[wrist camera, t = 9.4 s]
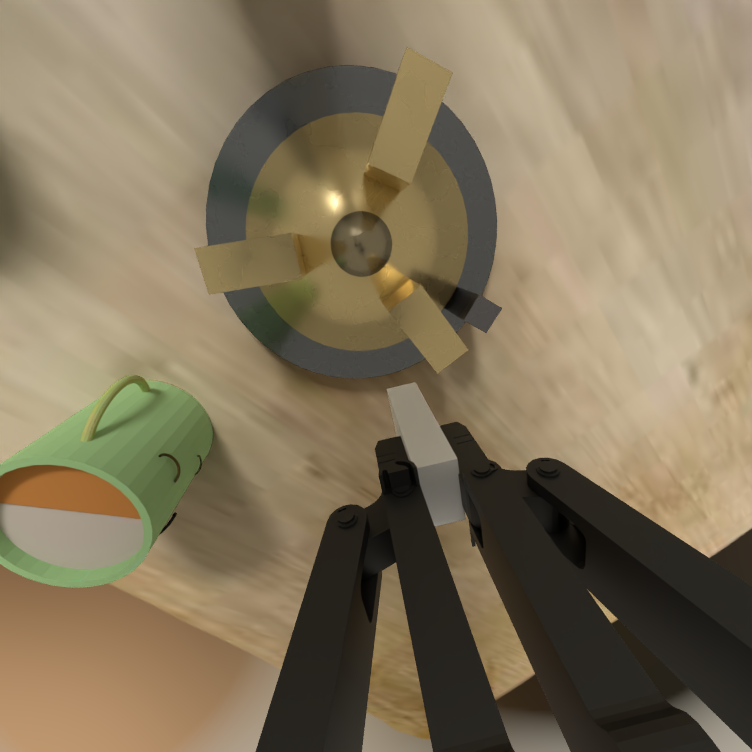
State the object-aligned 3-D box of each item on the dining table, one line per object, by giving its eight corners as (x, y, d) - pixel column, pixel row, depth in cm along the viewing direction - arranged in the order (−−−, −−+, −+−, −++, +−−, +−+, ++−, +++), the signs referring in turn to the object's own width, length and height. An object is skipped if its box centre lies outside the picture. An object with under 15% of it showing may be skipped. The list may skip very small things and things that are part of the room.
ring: (284, 1, 23) (264, -91, 17) (538, 186, 29) (597, 170, 22) (175, 301, 29) (129, 319, 23) (404, 406, 35) (420, 444, 28)
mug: (211, 483, 36) (154, 594, 24) (95, 467, 34) (-24, 579, 23) (226, 367, 32) (166, 436, 20) (95, 341, 30) (-50, 402, 19)
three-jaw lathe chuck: (196, 239, 26) (154, 239, 20) (389, 57, 23) (408, -8, 17) (349, 400, 31) (352, 438, 25) (516, 268, 29) (564, 276, 23)
